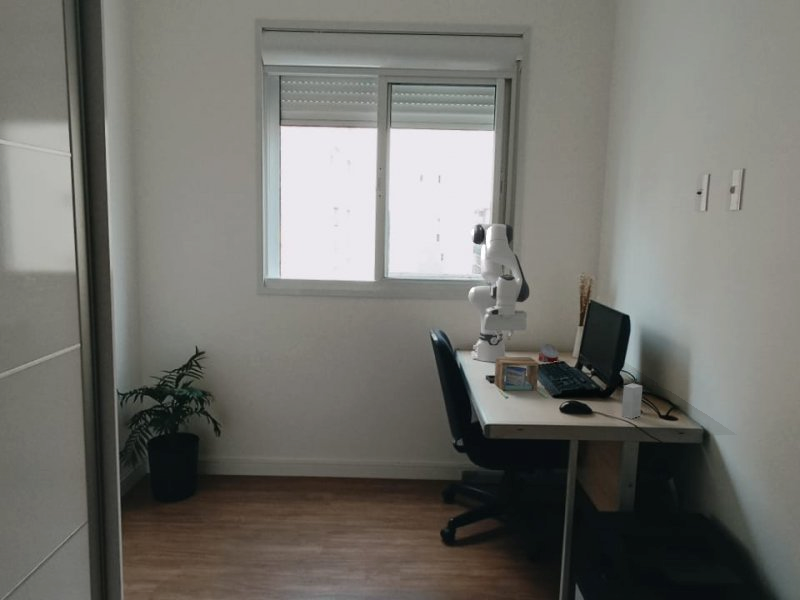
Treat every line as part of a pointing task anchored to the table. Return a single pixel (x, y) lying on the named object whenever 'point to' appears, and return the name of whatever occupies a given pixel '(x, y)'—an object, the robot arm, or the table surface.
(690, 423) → the table surface
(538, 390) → the bay marker right
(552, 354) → the canned food
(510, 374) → the medicine box
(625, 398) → the skincare box
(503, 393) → the bay marker left
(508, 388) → the sled
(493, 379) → the pit left
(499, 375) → the tunnel
